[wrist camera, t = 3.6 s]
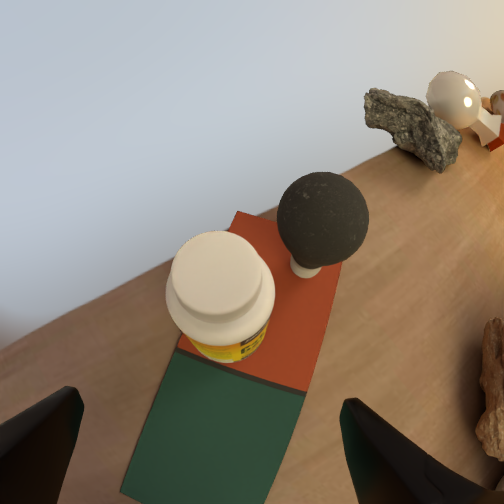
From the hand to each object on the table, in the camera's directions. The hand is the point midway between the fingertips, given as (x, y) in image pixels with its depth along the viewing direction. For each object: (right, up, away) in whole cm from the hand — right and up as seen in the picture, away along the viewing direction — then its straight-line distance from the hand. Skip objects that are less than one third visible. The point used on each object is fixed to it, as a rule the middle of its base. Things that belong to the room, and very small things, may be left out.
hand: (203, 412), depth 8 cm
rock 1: (+23, +25, +21) cm, 40 cm away
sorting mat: (+1, -4, +12) cm, 12 cm away
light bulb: (+6, +4, +16) cm, 17 cm away
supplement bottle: (0, -1, +13) cm, 14 cm away
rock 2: (+25, -9, +10) cm, 29 cm away
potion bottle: (+28, +30, +24) cm, 47 cm away
